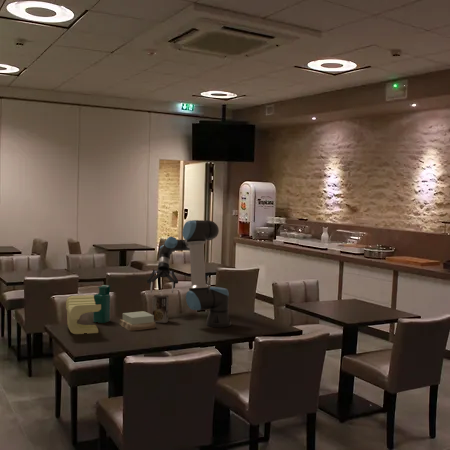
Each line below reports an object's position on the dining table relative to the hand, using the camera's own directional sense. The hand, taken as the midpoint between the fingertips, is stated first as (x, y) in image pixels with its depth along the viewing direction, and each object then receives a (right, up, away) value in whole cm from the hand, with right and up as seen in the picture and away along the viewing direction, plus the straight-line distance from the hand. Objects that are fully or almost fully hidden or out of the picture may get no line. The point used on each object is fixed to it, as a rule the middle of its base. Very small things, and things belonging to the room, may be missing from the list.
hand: (161, 291), depth 353 cm
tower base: (-12, -19, -24) cm, 33 cm away
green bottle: (-35, -17, -13) cm, 42 cm away
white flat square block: (-11, -15, -25) cm, 31 cm away
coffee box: (0, -18, -9) cm, 20 cm away
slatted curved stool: (-41, -18, -39) cm, 59 cm away
